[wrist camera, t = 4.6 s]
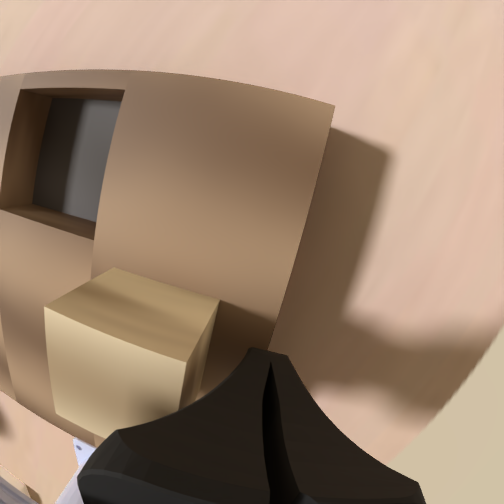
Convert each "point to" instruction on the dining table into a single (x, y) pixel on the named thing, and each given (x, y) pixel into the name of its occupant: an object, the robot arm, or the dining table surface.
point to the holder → (13, 480)
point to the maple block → (126, 350)
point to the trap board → (149, 204)
